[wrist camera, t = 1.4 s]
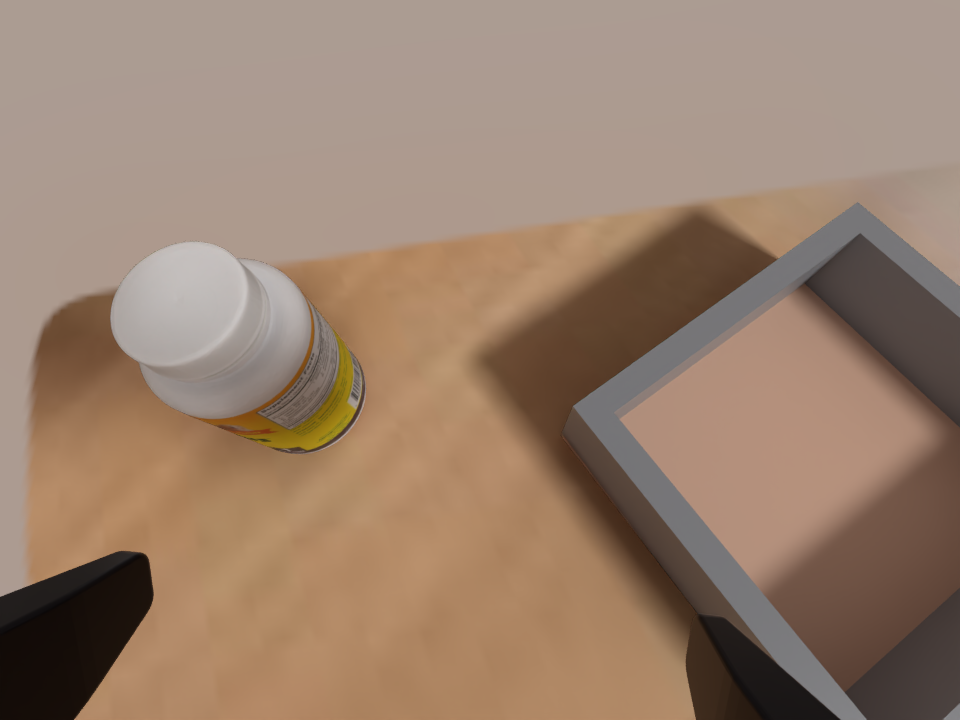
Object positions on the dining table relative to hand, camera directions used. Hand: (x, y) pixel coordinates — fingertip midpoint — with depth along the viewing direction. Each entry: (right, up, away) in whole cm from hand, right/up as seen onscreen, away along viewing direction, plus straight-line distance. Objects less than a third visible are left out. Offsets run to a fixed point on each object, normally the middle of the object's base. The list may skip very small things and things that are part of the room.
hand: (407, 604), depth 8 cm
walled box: (+14, -1, +13) cm, 20 cm away
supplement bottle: (-7, +2, +16) cm, 17 cm away
